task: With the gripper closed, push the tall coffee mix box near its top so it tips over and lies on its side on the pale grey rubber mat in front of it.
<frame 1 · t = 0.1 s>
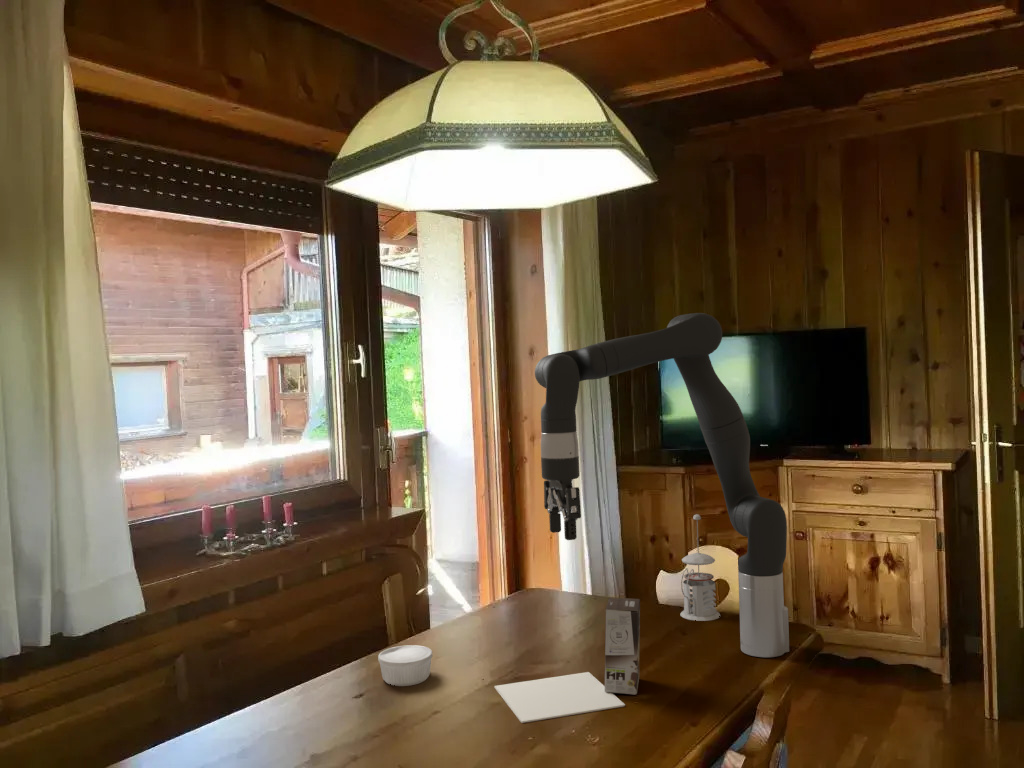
hand: (562, 535, 171), 29 cm above the table, fingers open, 8 cm apart
french press: (698, 616, 211), on the table
ramekin: (406, 679, 176), on the table
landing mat: (557, 696, 164), on the table
coffee box: (622, 686, 167), on the table, touching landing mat
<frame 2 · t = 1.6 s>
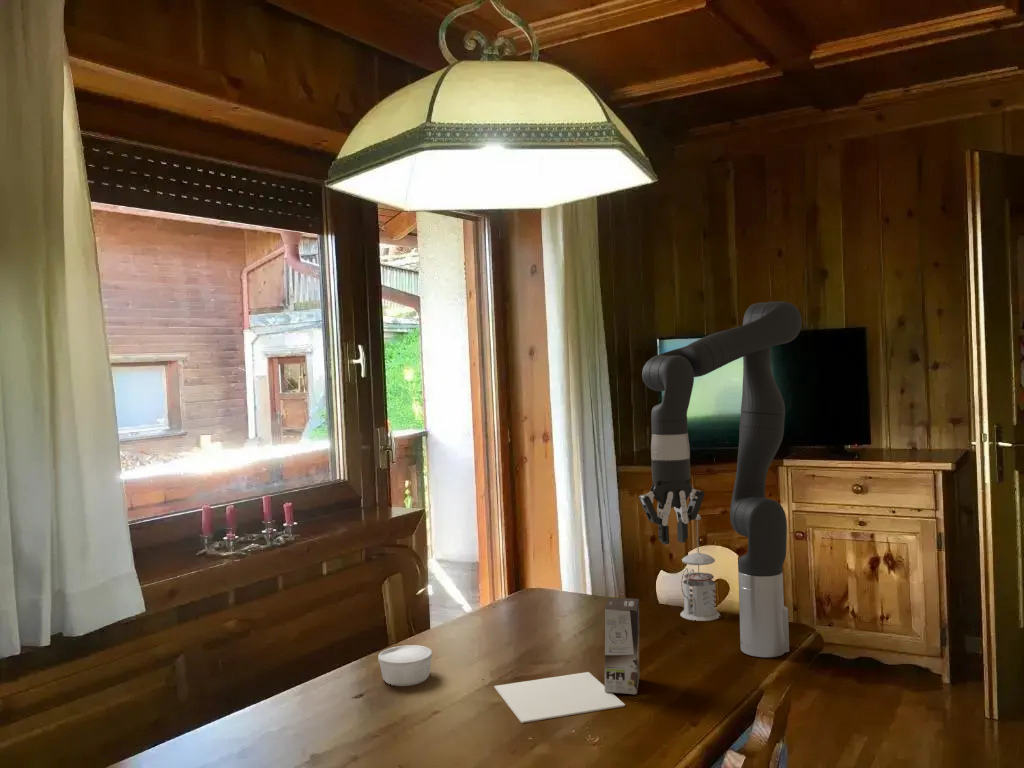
hand: (673, 542, 170), 27 cm above the table, fingers open, 3 cm apart
nothing on the table moved.
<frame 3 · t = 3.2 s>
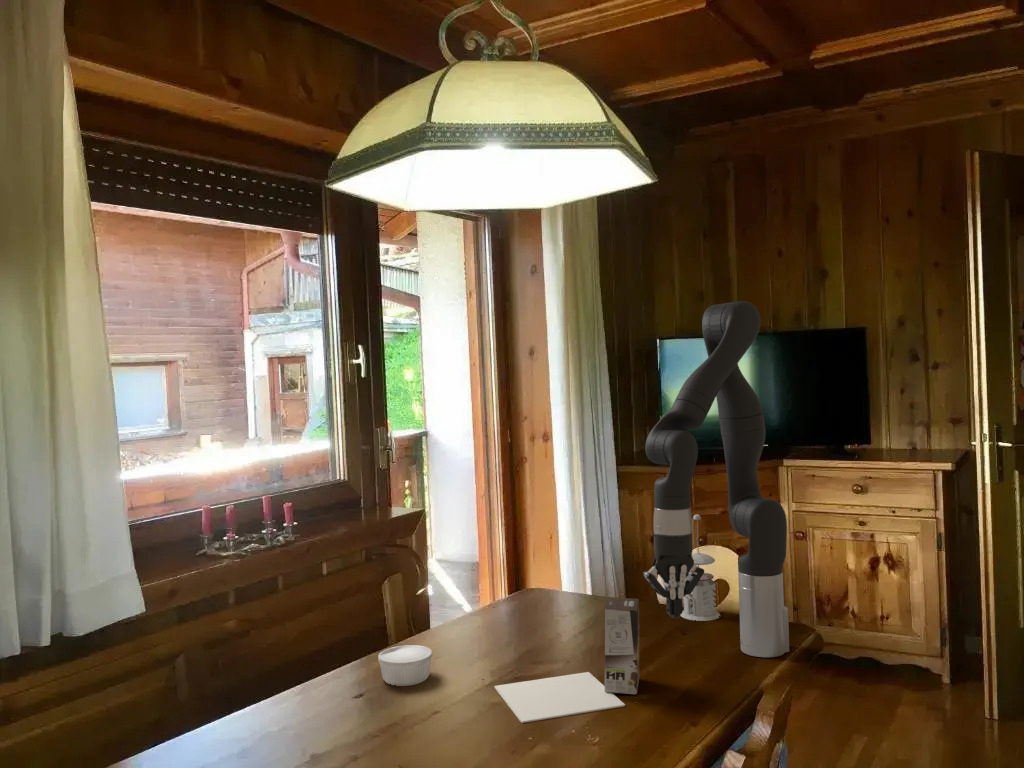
hand: (674, 616, 171), 12 cm above the table, fingers closed
nothing on the table moved.
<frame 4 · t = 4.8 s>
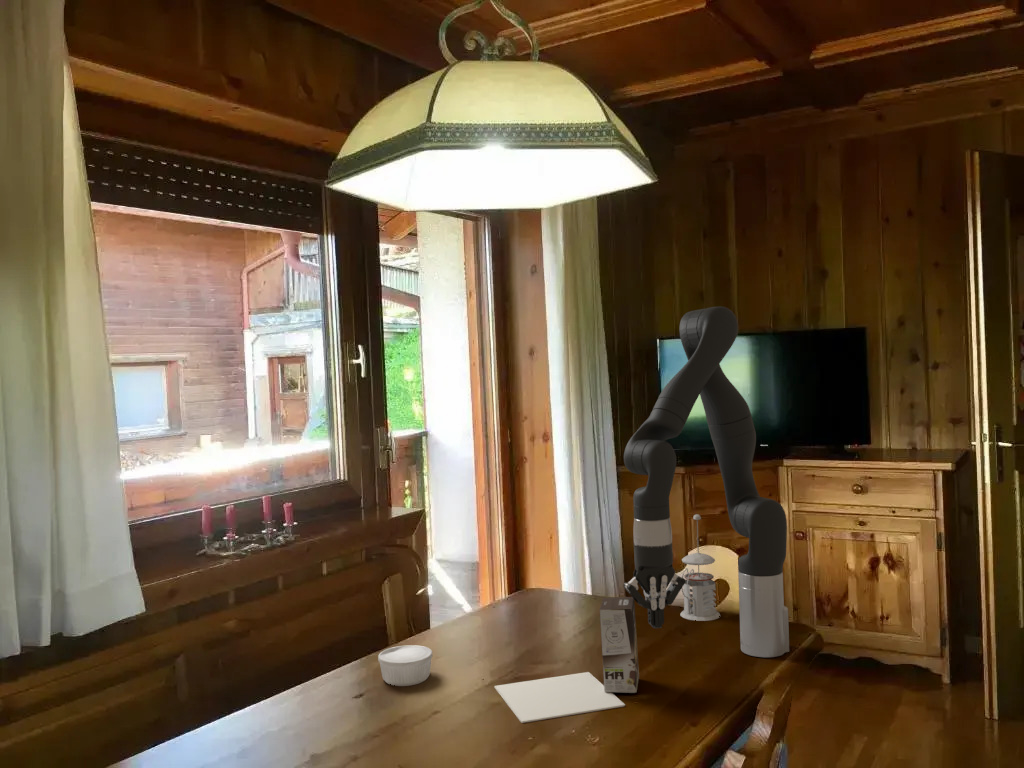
hand: (656, 626, 170), 11 cm above the table, fingers closed
coffee box: (622, 685, 167), on the table, touching hand, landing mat
everything else where it was.
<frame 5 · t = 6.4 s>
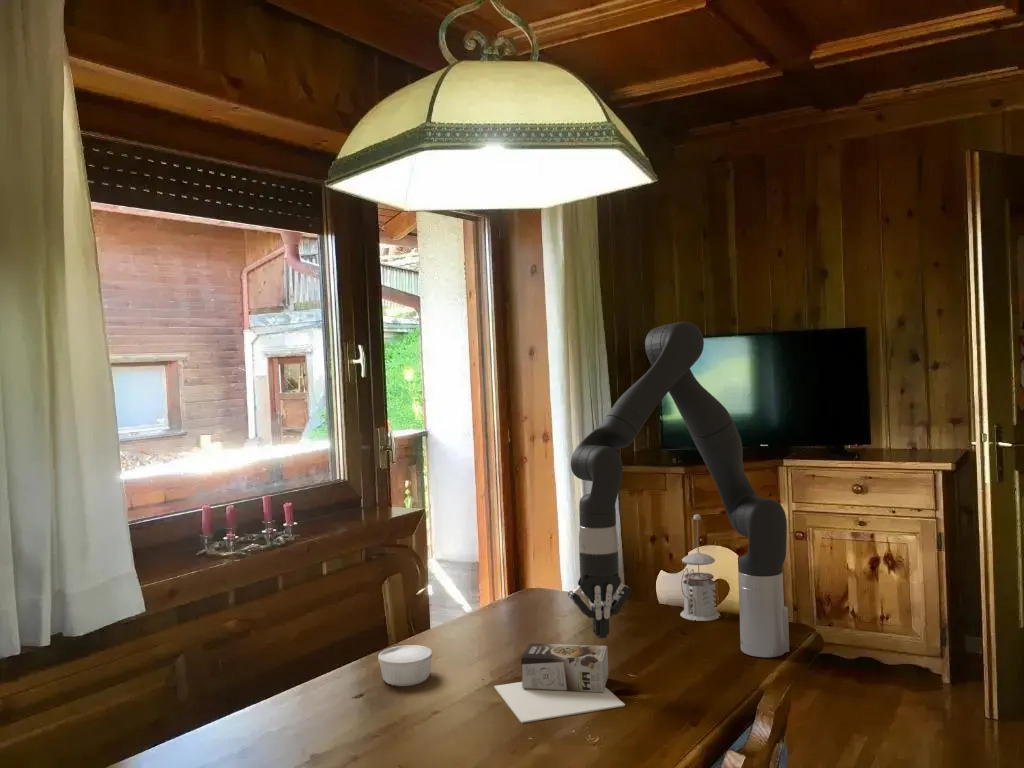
hand: (601, 637, 166), 10 cm above the table, fingers closed
coffee box: (606, 668, 168), point 4 cm above the table, touching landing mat
everything else where it was.
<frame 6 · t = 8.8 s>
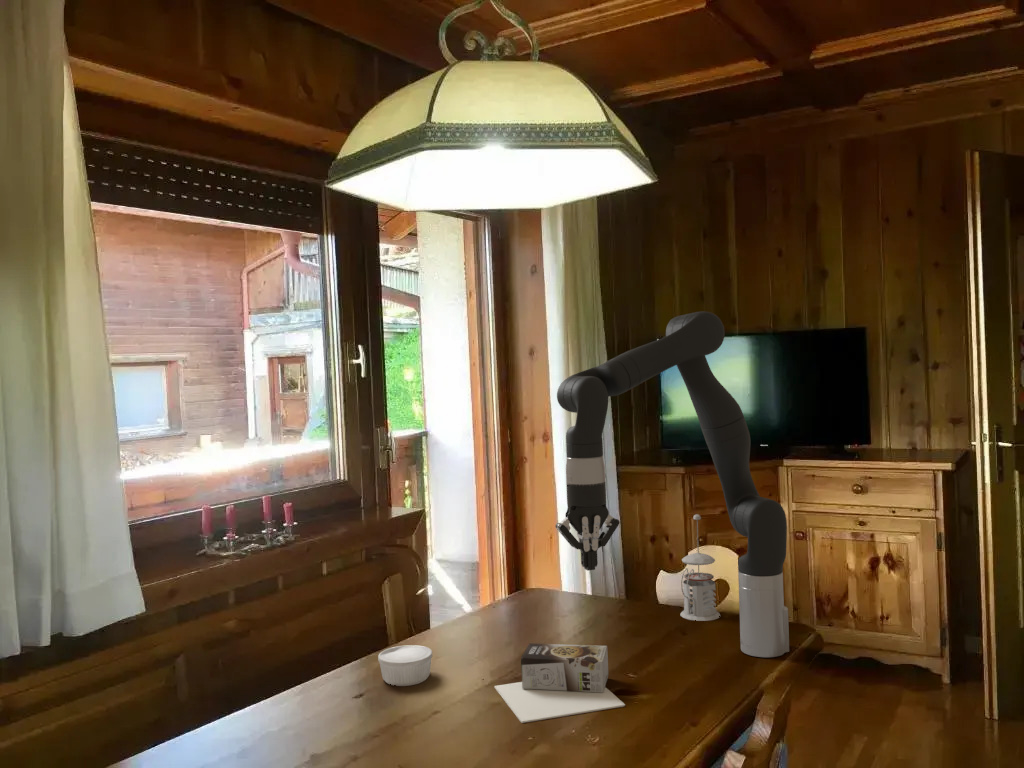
hand: (589, 569, 165), 24 cm above the table, fingers closed
nothing on the table moved.
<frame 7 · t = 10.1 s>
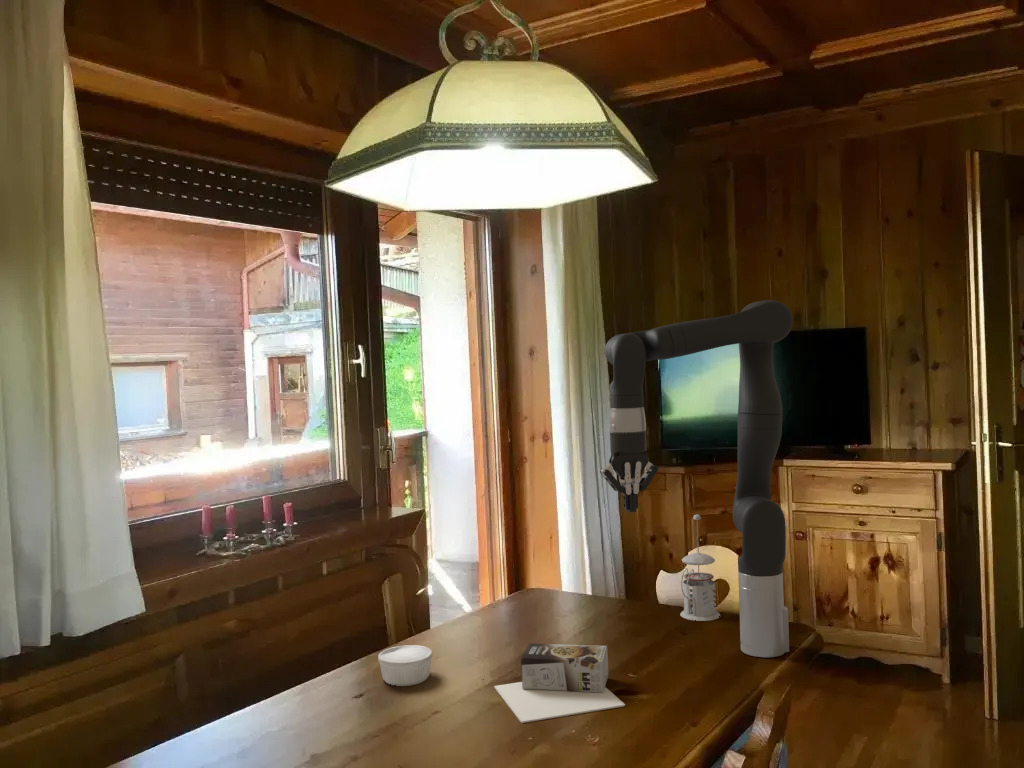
hand: (630, 511, 179), 32 cm above the table, fingers closed
nothing on the table moved.
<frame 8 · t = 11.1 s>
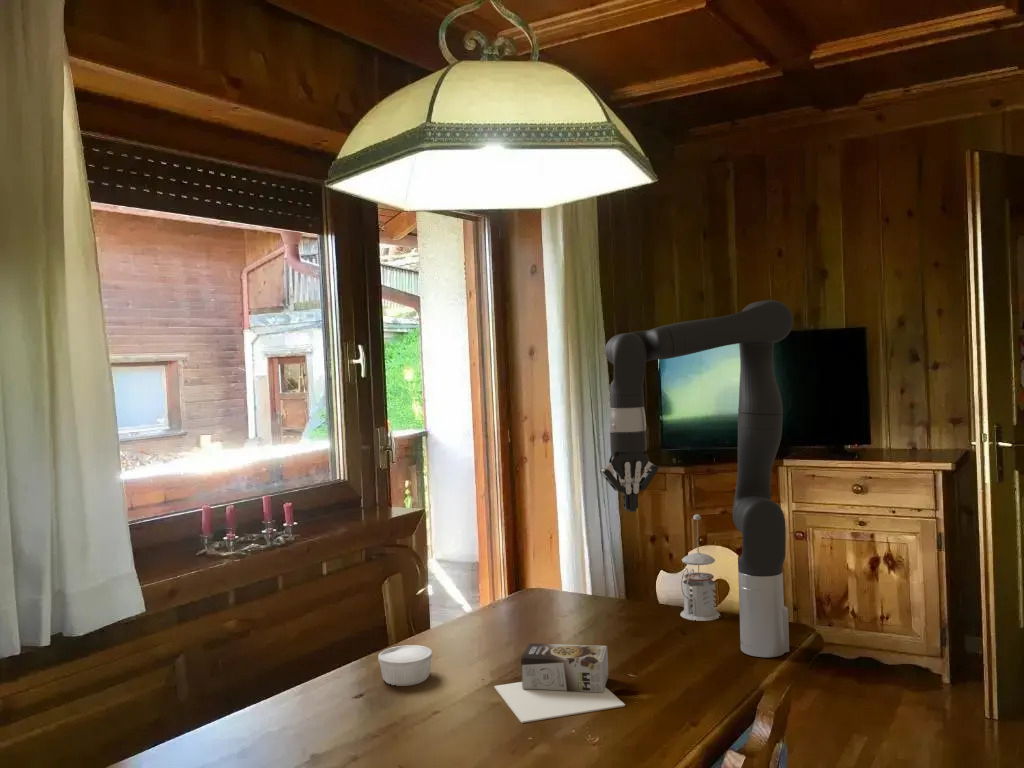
hand: (630, 511, 180), 32 cm above the table, fingers closed
nothing on the table moved.
at the end: coffee box tilted 90°; coffee box touching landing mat; coffee box inside the target area on the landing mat (8.9 cm from its centre), point 3.5 cm above the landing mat's base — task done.
